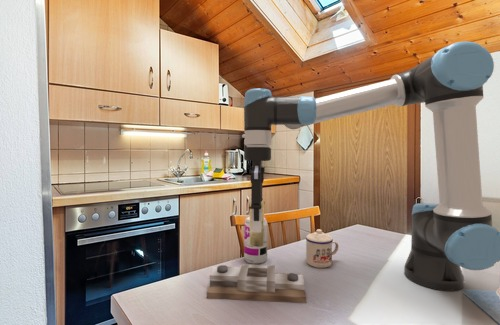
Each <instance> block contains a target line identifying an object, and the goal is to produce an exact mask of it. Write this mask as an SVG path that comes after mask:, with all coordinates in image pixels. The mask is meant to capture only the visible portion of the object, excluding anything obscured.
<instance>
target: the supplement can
mask: <svg viewBox="0 0 500 325" xmlns="http://www.w3.org/2000/svg"><path fill="white" fill-rule="evenodd" d="M243 223H244V224H243V225H244V226H243V228H244V229H243V240H244V241H243V250H244V251H243V253H244V254H243V259H244V260H245V261H246V263H248V264H251V265H261V264H263V263H265V262H266V261H267V260H268V221H267V219H266V217H265V216H264V245H263V246H260V247H254V246H251V245H250V216H247V217H246V218H245V220H244V222H243Z"/></svg>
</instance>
